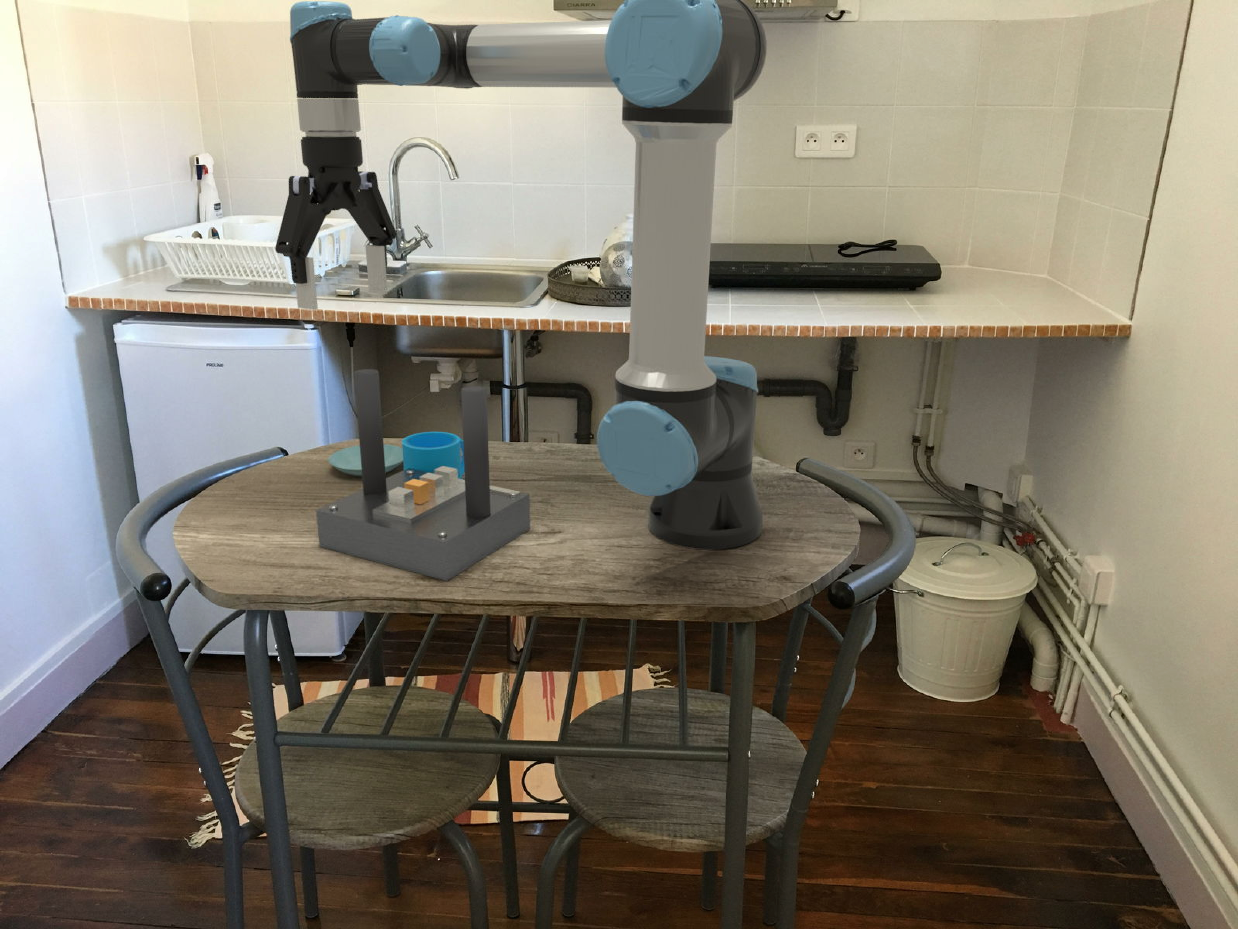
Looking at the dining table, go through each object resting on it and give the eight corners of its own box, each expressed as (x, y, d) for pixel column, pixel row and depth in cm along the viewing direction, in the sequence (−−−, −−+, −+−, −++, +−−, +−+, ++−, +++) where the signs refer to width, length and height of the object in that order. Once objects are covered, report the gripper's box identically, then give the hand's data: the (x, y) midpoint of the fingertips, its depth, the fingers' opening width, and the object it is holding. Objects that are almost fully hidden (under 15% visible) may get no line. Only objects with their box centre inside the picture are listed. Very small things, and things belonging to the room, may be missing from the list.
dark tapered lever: (495, 512, 126) (491, 388, 121) (481, 520, 124) (476, 394, 118) (475, 507, 128) (470, 385, 122) (461, 515, 125) (455, 390, 120)
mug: (436, 508, 141) (434, 453, 138) (393, 497, 145) (389, 442, 142) (490, 483, 150) (488, 431, 148) (448, 473, 154) (445, 422, 152)
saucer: (353, 489, 148) (352, 474, 147) (315, 468, 156) (314, 454, 155) (422, 471, 156) (422, 457, 155) (383, 452, 164) (382, 438, 163)
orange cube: (429, 499, 128) (428, 482, 127) (420, 504, 126) (419, 486, 126) (414, 496, 129) (413, 478, 128) (405, 500, 128) (404, 483, 127)
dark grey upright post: (391, 488, 134) (383, 370, 128) (376, 495, 131) (367, 376, 126) (373, 484, 135) (365, 367, 130) (358, 491, 132) (349, 372, 127)
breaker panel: (530, 529, 134) (529, 472, 131) (446, 581, 119) (443, 518, 116) (410, 501, 143) (407, 447, 140) (319, 546, 128) (313, 487, 125)
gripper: (373, 132, 141) (384, 284, 148) (232, 135, 120) (252, 312, 127) (416, 133, 138) (424, 289, 145) (278, 136, 117) (297, 318, 124)
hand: (344, 300), depth 136 cm, fingers open, 13 cm apart
